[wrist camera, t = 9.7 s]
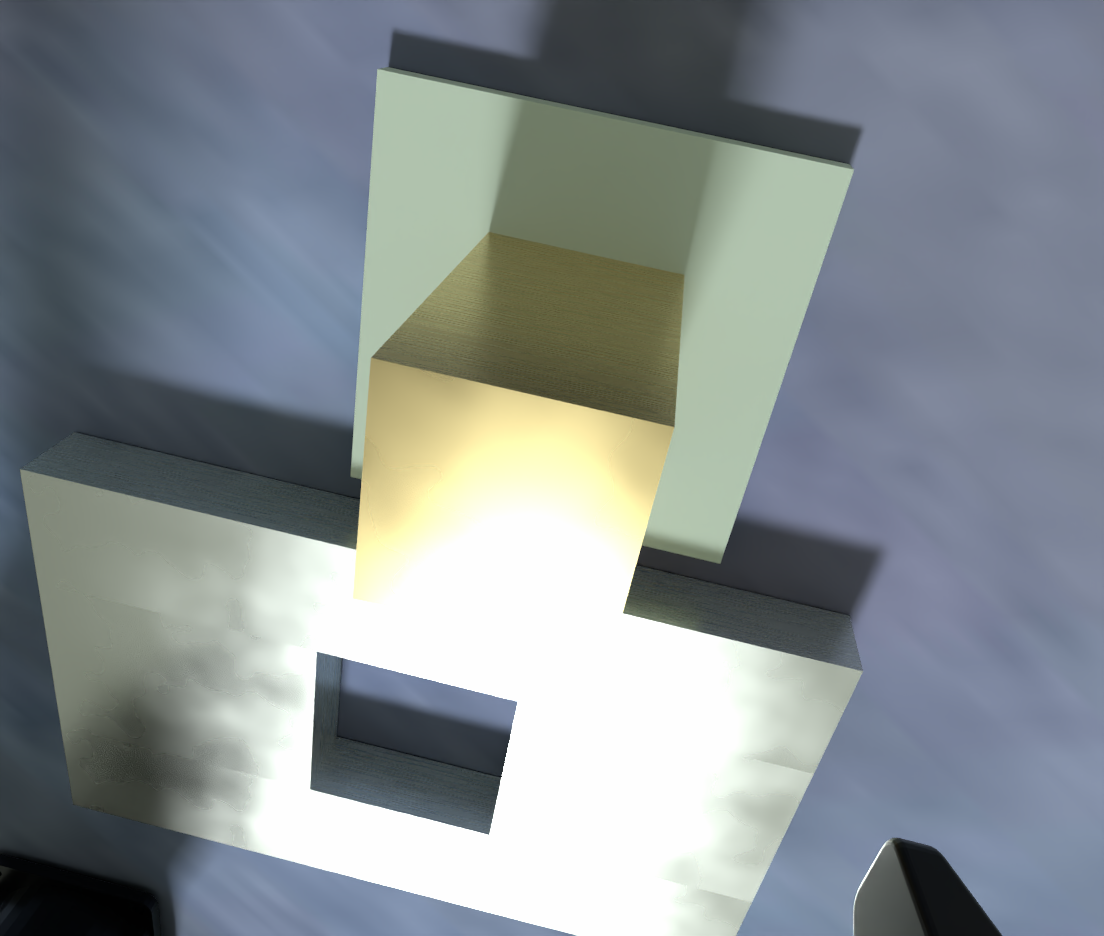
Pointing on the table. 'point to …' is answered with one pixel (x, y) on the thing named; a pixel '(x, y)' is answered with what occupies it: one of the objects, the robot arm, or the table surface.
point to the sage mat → (610, 253)
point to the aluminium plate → (429, 652)
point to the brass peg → (520, 443)
